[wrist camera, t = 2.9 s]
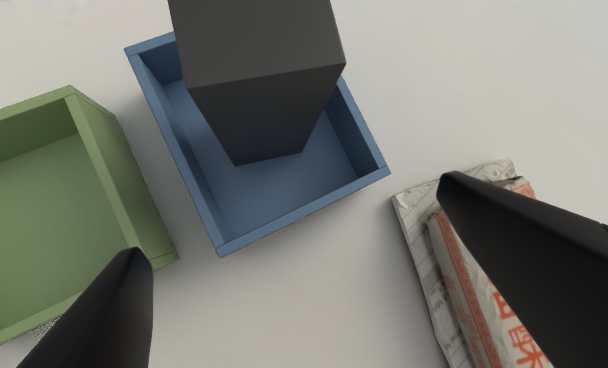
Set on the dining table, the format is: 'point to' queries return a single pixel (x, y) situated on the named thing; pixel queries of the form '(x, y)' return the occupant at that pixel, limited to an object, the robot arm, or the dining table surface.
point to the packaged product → (465, 281)
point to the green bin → (66, 206)
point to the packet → (258, 70)
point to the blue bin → (259, 175)
